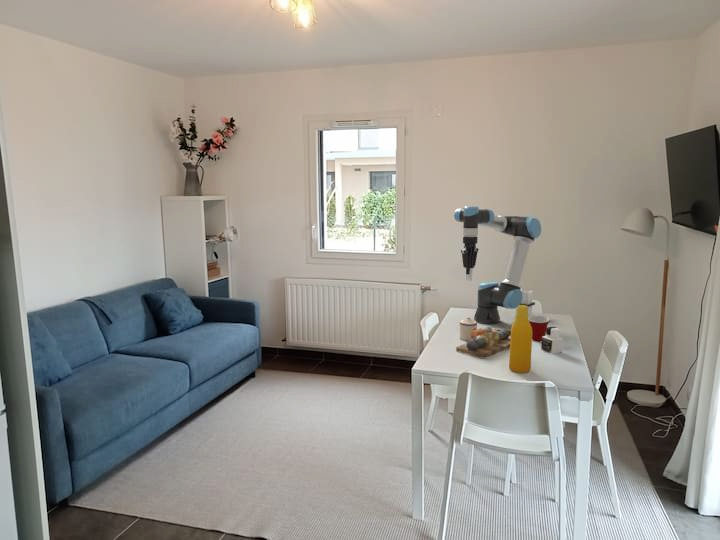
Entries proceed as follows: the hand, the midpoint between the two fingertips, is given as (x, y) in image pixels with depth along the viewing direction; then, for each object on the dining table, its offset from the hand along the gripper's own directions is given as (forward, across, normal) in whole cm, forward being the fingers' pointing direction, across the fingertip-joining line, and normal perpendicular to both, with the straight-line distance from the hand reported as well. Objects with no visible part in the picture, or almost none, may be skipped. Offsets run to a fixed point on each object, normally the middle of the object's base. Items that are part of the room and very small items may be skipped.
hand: (468, 280), depth 292 cm
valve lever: (+22, +16, +20) cm, 33 cm away
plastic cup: (+31, -19, +31) cm, 48 cm away
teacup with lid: (+31, +3, +3) cm, 31 cm away
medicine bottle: (+31, -7, +45) cm, 55 cm away
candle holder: (+31, -60, -1) cm, 68 cm away
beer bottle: (+31, +28, +48) cm, 63 cm away
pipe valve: (+30, +10, +20) cm, 38 cm away
